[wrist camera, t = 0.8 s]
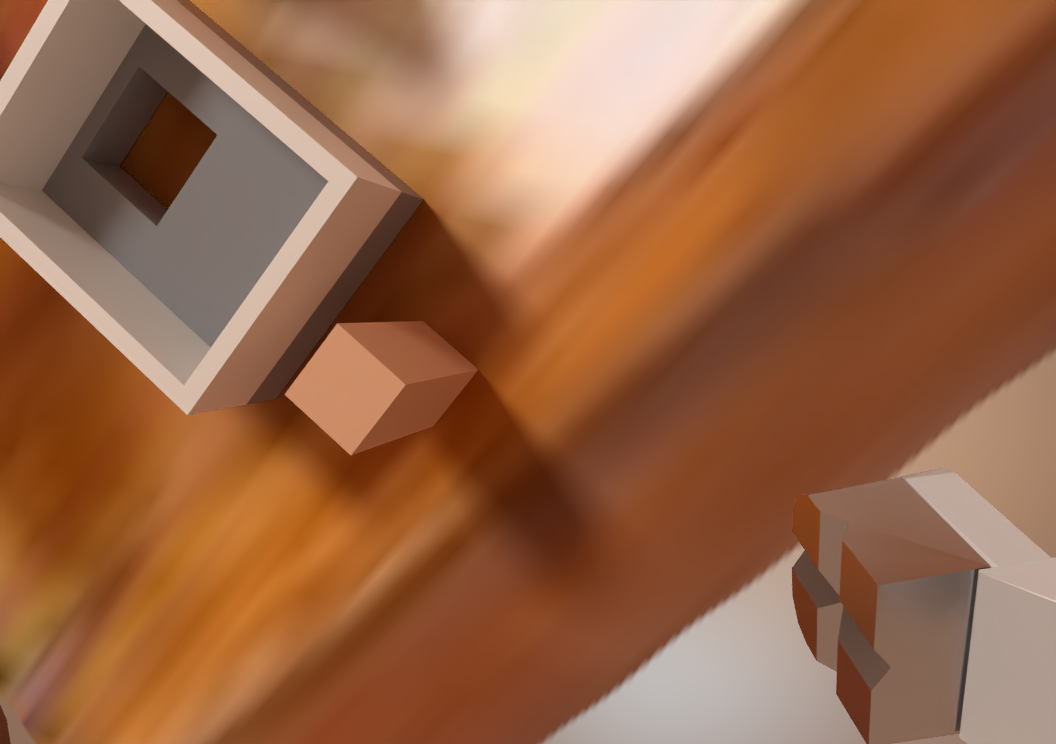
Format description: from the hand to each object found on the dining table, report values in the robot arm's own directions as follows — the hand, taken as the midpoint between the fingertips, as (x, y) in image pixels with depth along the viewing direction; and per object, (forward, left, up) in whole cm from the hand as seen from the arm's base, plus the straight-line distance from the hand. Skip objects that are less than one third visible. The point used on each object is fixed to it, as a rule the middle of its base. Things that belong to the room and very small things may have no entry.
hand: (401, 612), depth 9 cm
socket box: (+9, -25, -36) cm, 45 cm away
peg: (+9, -10, -36) cm, 39 cm away
